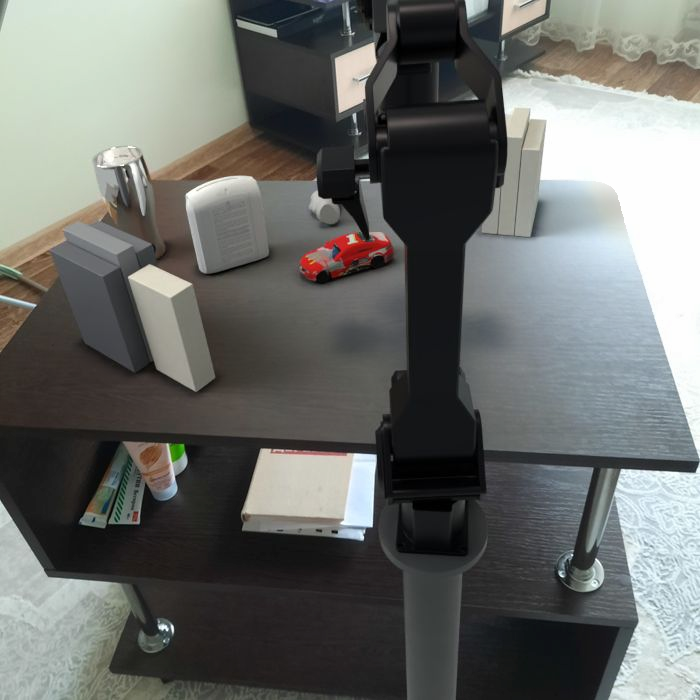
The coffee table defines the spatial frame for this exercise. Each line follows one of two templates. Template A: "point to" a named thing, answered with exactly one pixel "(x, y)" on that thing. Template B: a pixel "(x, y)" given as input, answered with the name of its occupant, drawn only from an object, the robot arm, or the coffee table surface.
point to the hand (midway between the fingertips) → (409, 235)
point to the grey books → (105, 289)
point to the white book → (173, 326)
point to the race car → (346, 256)
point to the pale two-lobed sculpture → (324, 209)
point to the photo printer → (227, 223)
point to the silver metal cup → (129, 193)
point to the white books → (519, 177)
